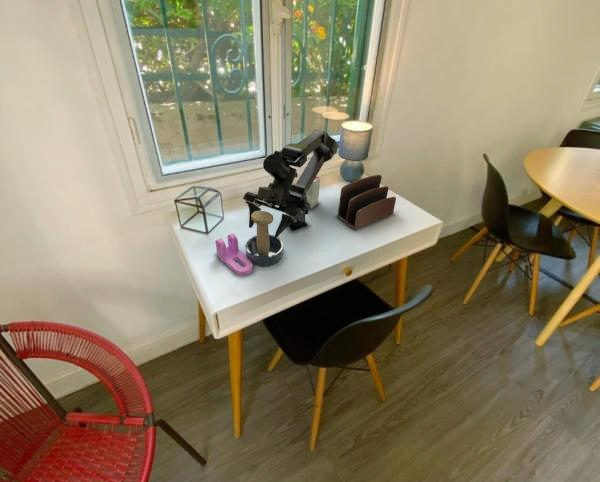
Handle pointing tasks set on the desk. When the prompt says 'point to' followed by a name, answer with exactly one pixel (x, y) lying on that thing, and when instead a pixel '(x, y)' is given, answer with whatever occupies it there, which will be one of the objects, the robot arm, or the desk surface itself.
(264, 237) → the handle
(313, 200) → the supplement box
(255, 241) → the dark grey ring
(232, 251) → the bracket
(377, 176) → the letter holder
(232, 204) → the desk surface
